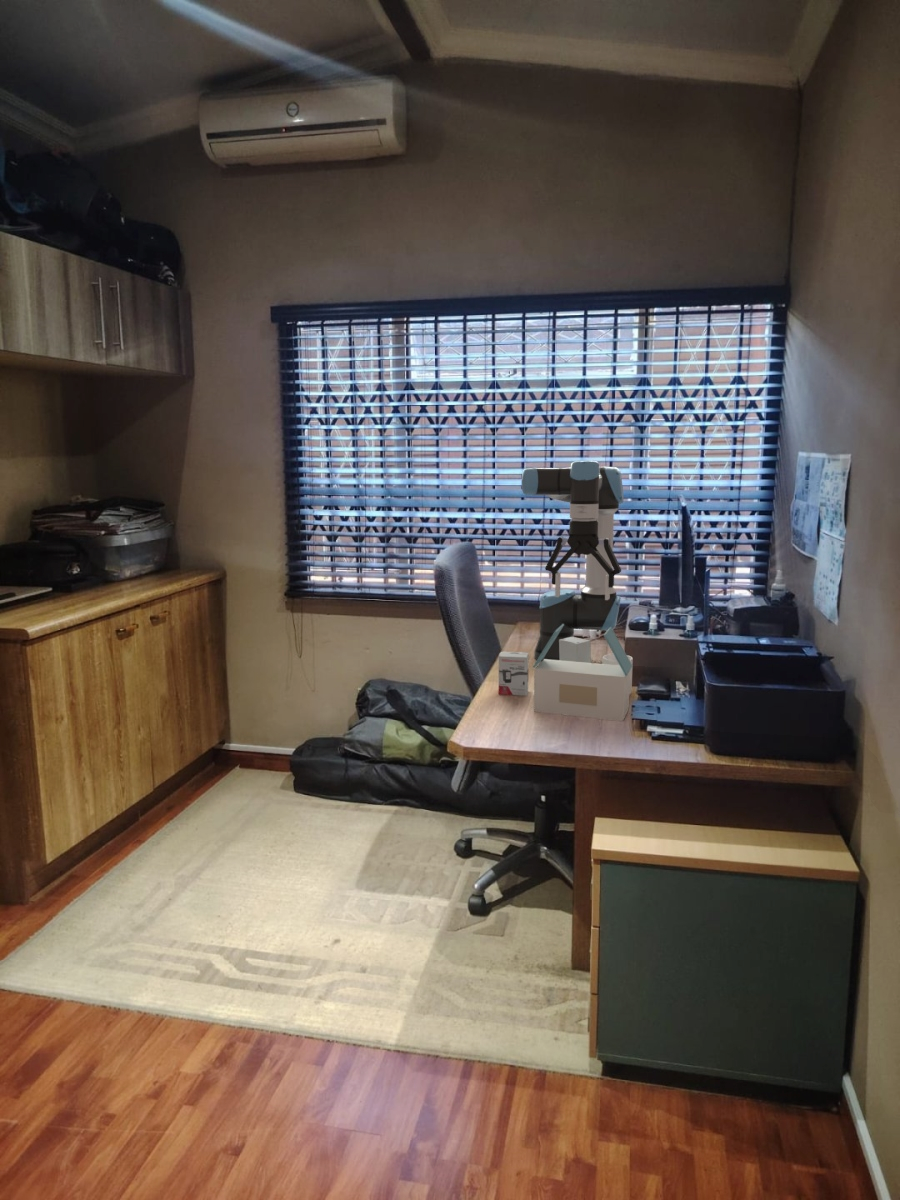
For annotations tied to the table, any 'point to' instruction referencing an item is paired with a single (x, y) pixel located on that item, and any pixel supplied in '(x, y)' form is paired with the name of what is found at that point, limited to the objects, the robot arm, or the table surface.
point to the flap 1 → (548, 645)
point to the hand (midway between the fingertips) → (582, 597)
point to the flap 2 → (618, 651)
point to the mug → (613, 661)
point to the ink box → (513, 673)
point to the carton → (581, 689)
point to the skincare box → (575, 650)
